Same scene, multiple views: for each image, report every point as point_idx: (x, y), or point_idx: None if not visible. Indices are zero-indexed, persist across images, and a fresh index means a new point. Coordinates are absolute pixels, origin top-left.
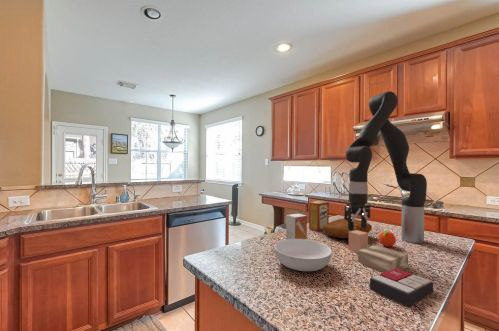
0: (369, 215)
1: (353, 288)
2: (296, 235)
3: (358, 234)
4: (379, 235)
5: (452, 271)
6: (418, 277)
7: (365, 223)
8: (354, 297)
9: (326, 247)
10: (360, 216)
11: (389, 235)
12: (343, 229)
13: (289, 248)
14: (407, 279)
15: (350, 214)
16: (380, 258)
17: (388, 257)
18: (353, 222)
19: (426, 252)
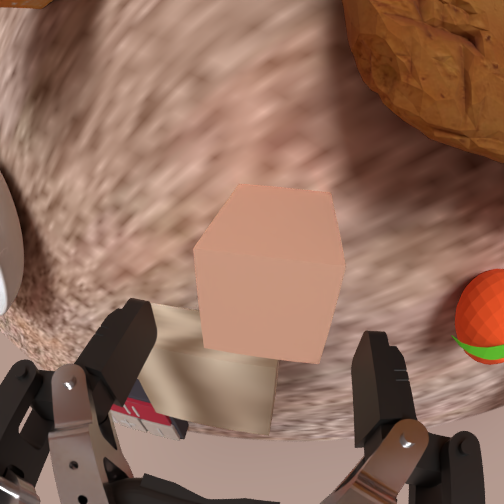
0: (424, 489)
1: (55, 340)
2: (9, 2)
3: (203, 339)
4: (496, 302)
5: (339, 437)
6: (167, 431)
7: (355, 411)
8: (47, 347)
9: (2, 270)
10: (367, 460)
11: (478, 360)
12: (385, 45)
13: None
14: (134, 420)
15: (36, 456)
16: (148, 395)
17: (176, 410)
18: (120, 402)
19: (470, 381)
